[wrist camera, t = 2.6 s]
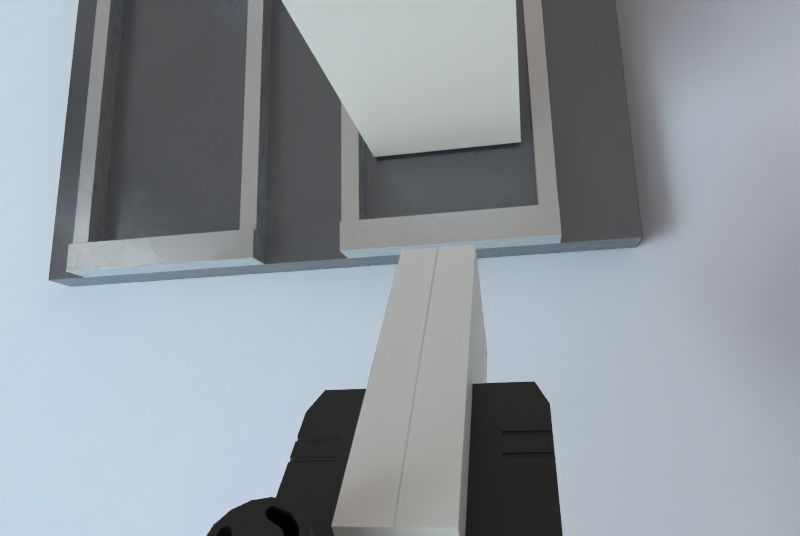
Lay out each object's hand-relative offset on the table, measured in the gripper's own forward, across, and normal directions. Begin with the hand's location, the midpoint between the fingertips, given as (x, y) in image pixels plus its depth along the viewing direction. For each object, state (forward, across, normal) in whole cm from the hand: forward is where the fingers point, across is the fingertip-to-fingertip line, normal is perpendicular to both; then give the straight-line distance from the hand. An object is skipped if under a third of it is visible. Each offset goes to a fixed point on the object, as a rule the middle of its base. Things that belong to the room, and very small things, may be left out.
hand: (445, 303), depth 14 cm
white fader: (+11, -1, +1) cm, 11 cm away
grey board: (+17, -5, +5) cm, 18 cm away
